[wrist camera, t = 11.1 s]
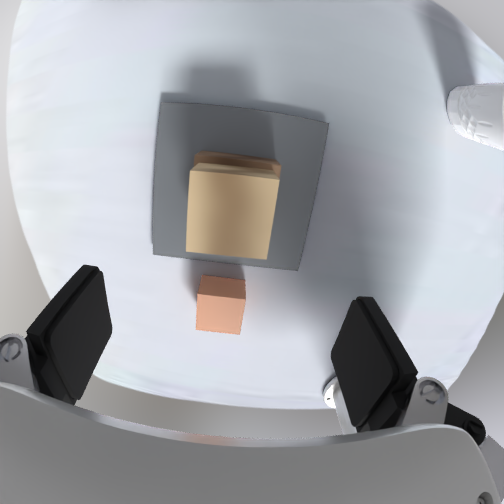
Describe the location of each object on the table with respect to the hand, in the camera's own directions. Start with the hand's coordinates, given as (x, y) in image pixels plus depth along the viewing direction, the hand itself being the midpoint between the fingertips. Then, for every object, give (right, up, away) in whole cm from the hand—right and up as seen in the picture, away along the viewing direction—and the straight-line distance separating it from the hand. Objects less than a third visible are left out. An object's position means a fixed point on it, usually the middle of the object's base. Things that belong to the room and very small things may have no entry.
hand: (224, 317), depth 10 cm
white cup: (+27, +20, +13) cm, 36 cm away
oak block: (-1, +6, +13) cm, 15 cm away
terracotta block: (-3, -3, +23) cm, 24 cm away
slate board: (-1, +9, +17) cm, 20 cm away
